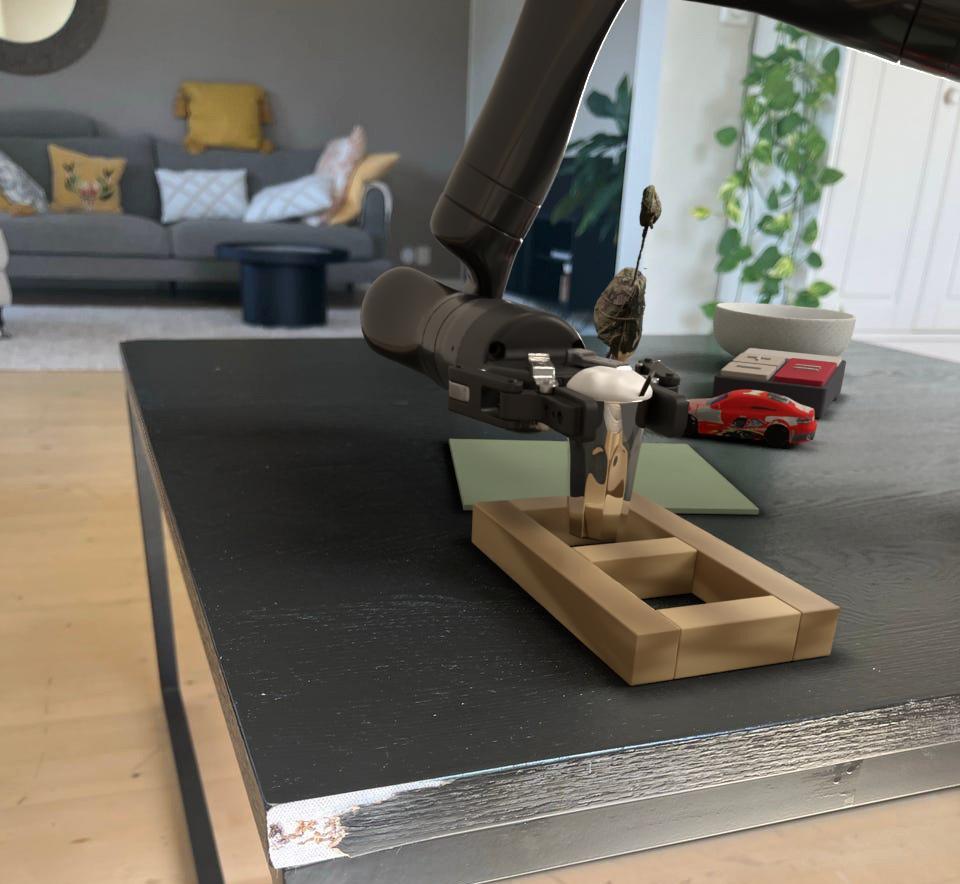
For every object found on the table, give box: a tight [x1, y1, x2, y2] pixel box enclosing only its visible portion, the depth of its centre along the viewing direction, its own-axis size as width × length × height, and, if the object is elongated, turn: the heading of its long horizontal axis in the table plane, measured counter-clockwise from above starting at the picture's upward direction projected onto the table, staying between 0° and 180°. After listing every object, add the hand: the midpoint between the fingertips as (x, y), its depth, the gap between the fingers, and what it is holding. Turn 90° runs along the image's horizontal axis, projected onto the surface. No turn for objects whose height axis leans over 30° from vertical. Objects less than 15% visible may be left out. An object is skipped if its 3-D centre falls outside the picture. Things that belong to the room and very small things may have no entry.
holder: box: [471, 490, 841, 687], centre depth 52 cm, size 11×19×2 cm, turn 21°
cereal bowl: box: [712, 302, 857, 358], centre depth 121 cm, size 17×17×7 cm
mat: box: [448, 438, 760, 516], centre depth 74 cm, size 20×18×1 cm
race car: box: [681, 390, 818, 448], centre depth 87 cm, size 13×5×4 cm, turn 68°
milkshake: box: [566, 359, 662, 541], centre depth 54 cm, size 4×5×10 cm
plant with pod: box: [592, 184, 663, 363], centre depth 102 cm, size 8×11×20 cm
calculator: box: [711, 348, 847, 419], centre depth 103 cm, size 11×4×15 cm
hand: (636, 420), depth 50 cm, fingers closed on milkshake, 4 cm apart
